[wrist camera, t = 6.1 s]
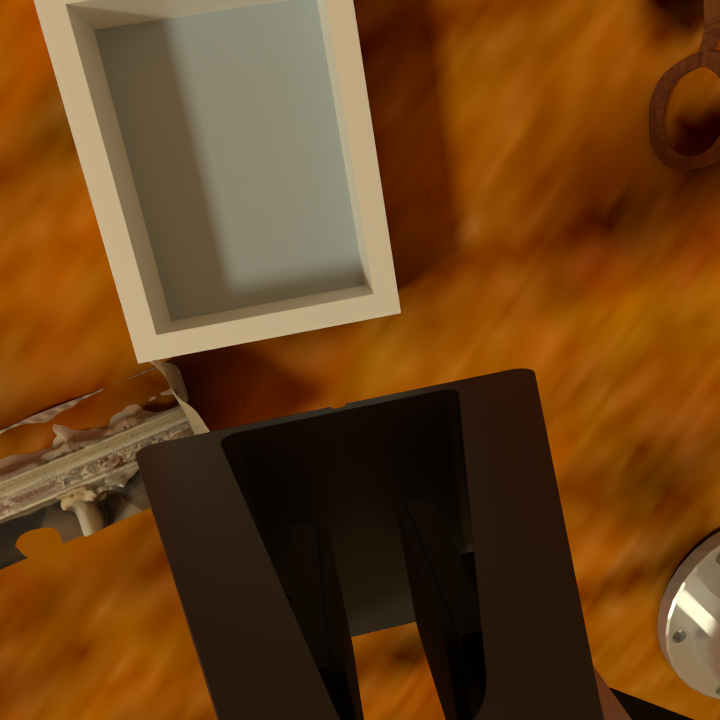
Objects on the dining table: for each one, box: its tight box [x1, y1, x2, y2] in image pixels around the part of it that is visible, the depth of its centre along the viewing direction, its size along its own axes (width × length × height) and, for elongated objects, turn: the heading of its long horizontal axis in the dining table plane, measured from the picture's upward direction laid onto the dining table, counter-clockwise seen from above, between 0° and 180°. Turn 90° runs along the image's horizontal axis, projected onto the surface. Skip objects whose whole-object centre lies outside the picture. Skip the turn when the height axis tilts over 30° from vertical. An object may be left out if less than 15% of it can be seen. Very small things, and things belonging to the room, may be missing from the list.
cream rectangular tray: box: [34, 0, 401, 363], centre depth 24 cm, size 11×14×4 cm
